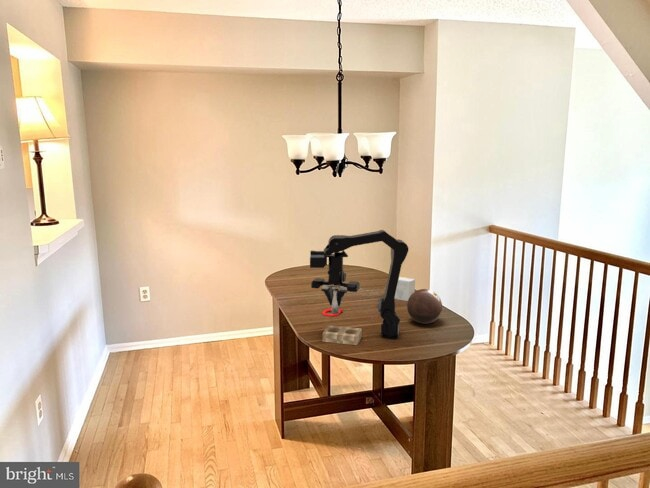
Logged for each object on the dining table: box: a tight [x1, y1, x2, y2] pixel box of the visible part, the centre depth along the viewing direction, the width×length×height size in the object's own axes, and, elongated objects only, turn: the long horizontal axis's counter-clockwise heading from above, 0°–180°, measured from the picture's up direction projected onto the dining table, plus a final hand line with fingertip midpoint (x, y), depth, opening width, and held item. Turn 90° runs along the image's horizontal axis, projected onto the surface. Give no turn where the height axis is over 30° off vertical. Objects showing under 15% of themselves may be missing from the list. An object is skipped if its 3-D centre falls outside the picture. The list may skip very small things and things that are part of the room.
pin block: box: [322, 324, 363, 346], centre depth 192 cm, size 14×9×4 cm, turn 74°
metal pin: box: [331, 287, 340, 314], centre depth 192 cm, size 3×3×10 cm
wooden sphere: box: [406, 288, 443, 325], centre depth 210 cm, size 15×15×15 cm
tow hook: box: [322, 287, 344, 318], centre depth 222 cm, size 8×13×9 cm
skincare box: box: [394, 276, 416, 302], centre depth 245 cm, size 10×6×10 cm, turn 54°
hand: (335, 305), depth 193 cm, fingers closed on metal pin, 3 cm apart
